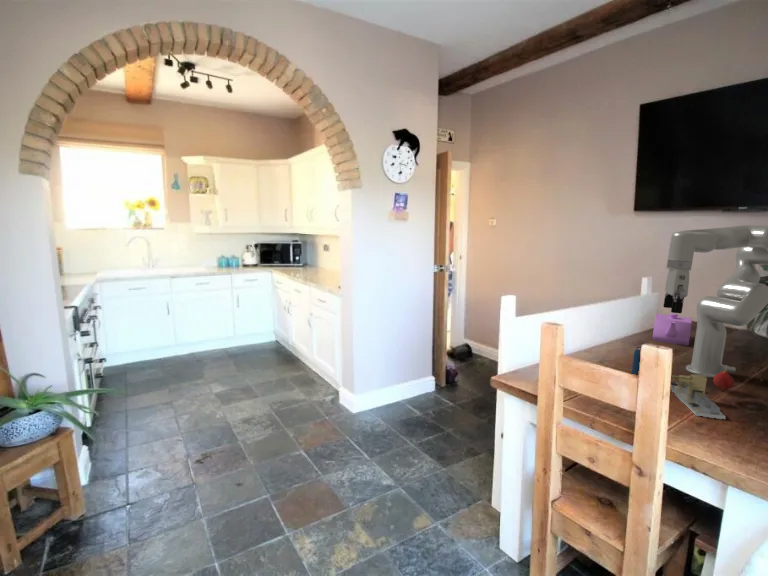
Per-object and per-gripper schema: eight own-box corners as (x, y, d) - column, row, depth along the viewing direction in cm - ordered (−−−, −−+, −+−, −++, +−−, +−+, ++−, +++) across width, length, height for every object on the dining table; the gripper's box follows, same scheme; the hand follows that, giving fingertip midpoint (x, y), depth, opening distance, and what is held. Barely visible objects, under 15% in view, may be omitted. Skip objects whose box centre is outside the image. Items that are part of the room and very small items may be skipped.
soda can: (650, 383, 156) (654, 353, 154) (629, 378, 160) (633, 349, 158) (653, 377, 161) (657, 348, 159) (632, 373, 165) (636, 345, 163)
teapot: (651, 343, 205) (655, 316, 202) (653, 332, 225) (657, 307, 222) (688, 349, 196) (693, 321, 194) (687, 337, 216) (691, 311, 214)
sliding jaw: (701, 393, 143) (704, 375, 142) (704, 396, 141) (707, 378, 140) (675, 391, 145) (678, 372, 144) (678, 393, 143) (680, 375, 142)
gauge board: (690, 387, 152) (691, 375, 152) (724, 419, 128) (727, 406, 127) (664, 384, 155) (666, 372, 154) (694, 415, 130) (696, 402, 129)
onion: (707, 387, 153) (711, 366, 151) (723, 387, 152) (727, 367, 151) (719, 393, 147) (723, 372, 145) (736, 394, 147) (740, 373, 145)
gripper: (699, 268, 142) (691, 316, 145) (683, 263, 158) (676, 306, 161) (674, 267, 145) (667, 313, 148) (660, 262, 161) (654, 304, 164)
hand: (672, 310), depth 155 cm, fingers open, 9 cm apart
